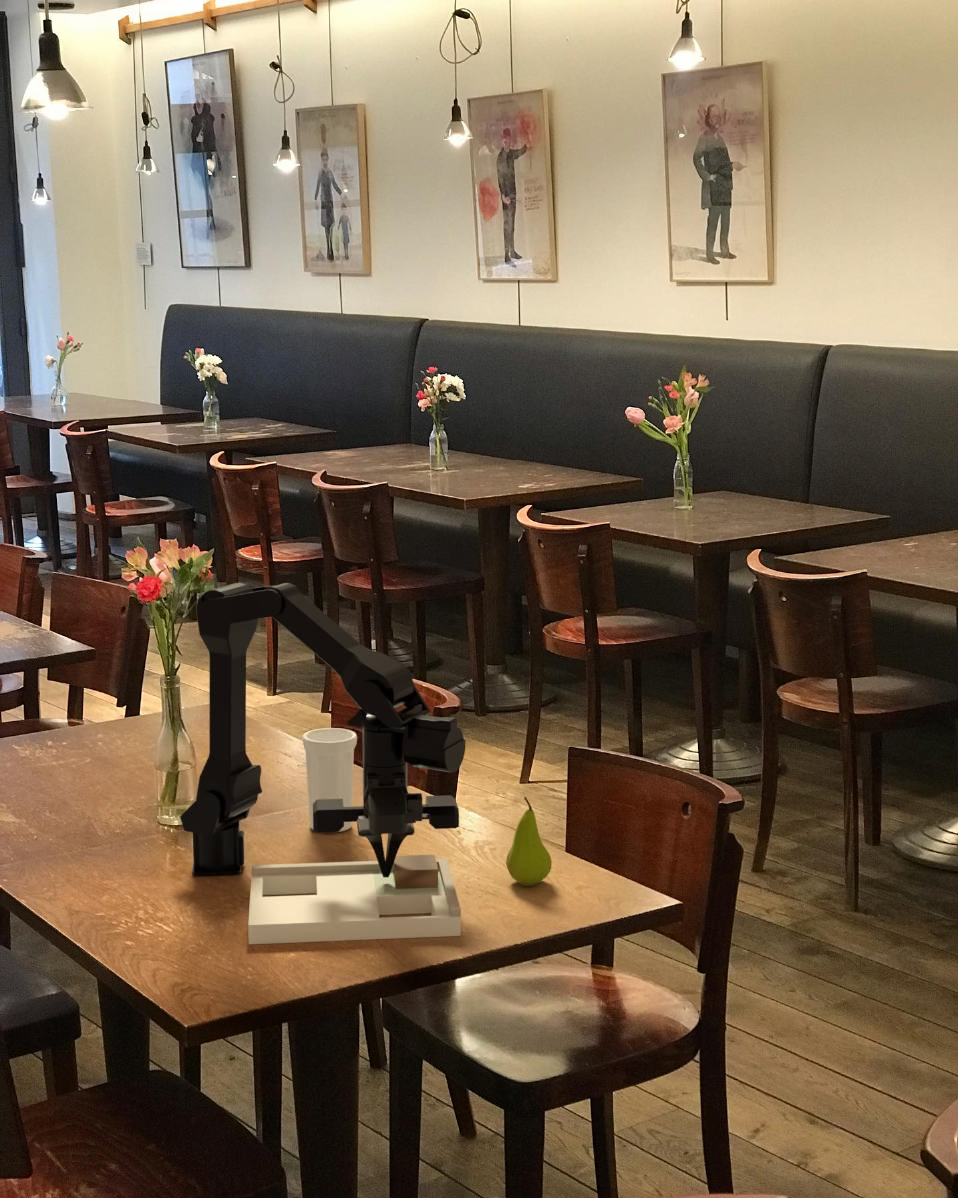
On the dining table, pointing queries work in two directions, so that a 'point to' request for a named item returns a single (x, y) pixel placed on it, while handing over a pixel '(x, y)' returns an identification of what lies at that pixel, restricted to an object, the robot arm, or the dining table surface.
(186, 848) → the dining table surface
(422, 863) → the walnut block
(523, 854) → the fruit
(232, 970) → the dining table surface
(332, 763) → the cup
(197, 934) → the dining table surface
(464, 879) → the dining table surface
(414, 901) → the box
